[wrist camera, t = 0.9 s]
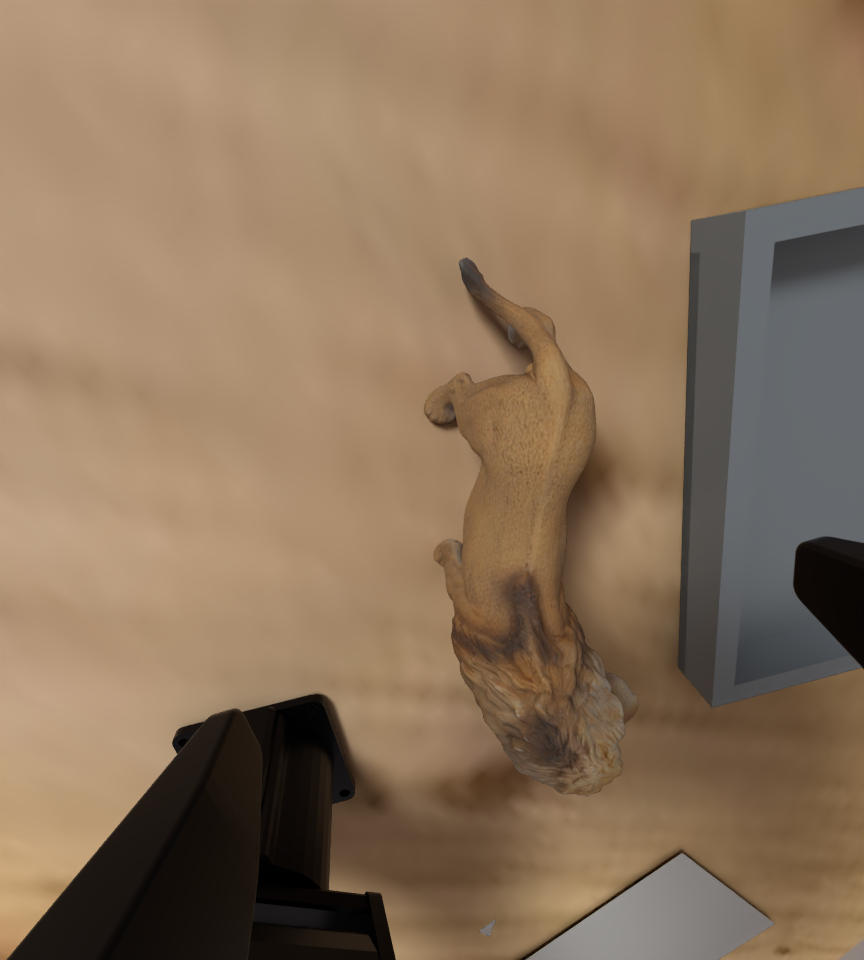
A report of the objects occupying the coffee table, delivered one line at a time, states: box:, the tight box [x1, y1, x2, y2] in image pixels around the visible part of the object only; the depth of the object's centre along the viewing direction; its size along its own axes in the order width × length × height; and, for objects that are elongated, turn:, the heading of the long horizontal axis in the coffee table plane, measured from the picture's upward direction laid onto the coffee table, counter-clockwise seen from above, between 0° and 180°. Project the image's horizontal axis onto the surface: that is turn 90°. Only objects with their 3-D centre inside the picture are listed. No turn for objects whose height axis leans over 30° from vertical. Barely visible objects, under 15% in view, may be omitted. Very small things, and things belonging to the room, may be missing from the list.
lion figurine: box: [424, 258, 639, 796], centre depth 15 cm, size 15×5×9 cm, turn 9°
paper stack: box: [479, 853, 775, 960], centre depth 32 cm, size 23×25×1 cm
